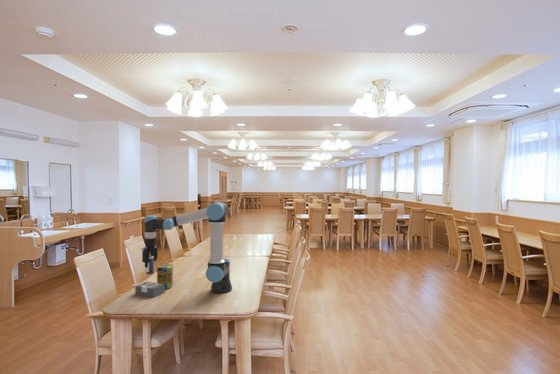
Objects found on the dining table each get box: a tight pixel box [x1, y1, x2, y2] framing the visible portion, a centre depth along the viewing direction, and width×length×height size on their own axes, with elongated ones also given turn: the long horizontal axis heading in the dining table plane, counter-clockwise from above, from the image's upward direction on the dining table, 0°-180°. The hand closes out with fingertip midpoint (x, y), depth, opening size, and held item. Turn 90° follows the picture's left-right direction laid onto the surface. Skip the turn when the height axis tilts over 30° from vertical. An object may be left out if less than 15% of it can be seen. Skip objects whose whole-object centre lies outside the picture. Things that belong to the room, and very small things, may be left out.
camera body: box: [134, 280, 166, 299], centre depth 230 cm, size 16×12×7 cm
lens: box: [145, 255, 154, 275], centre depth 230 cm, size 5×5×12 cm
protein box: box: [156, 262, 174, 289], centre depth 249 cm, size 10×15×16 cm
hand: (149, 270), depth 230 cm, fingers closed on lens, 5 cm apart
